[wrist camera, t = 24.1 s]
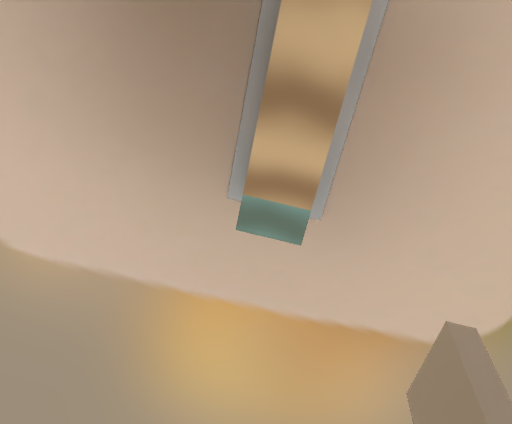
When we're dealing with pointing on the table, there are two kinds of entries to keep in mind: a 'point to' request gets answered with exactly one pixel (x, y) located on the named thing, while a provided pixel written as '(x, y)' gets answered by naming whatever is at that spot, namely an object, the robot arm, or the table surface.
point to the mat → (257, 87)
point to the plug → (299, 113)
